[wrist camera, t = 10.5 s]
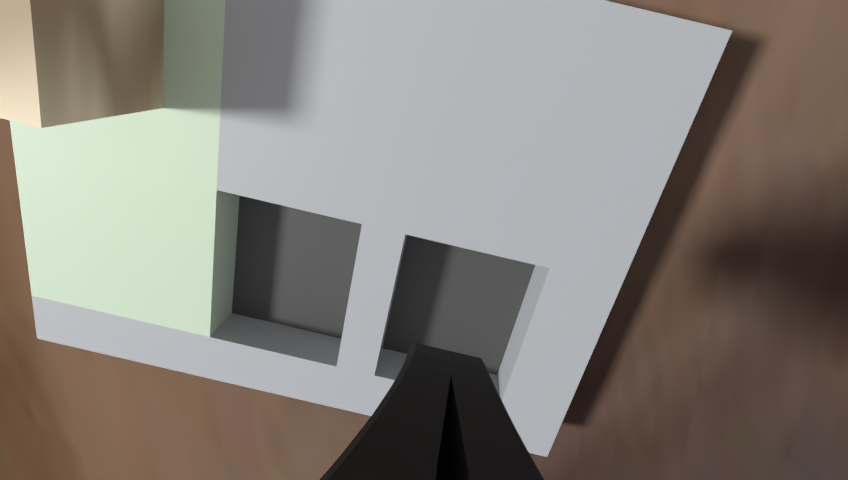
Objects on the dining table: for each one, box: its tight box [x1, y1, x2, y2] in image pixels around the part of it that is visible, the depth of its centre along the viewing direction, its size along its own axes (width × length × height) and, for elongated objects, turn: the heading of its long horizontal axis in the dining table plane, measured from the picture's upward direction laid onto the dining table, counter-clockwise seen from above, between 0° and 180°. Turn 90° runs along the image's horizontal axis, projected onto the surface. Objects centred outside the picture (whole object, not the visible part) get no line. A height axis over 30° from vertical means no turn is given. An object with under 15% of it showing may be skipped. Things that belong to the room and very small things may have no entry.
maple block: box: [0, 0, 164, 128], centre depth 12 cm, size 4×4×4 cm
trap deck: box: [10, 0, 732, 457], centre depth 16 cm, size 16×21×2 cm
